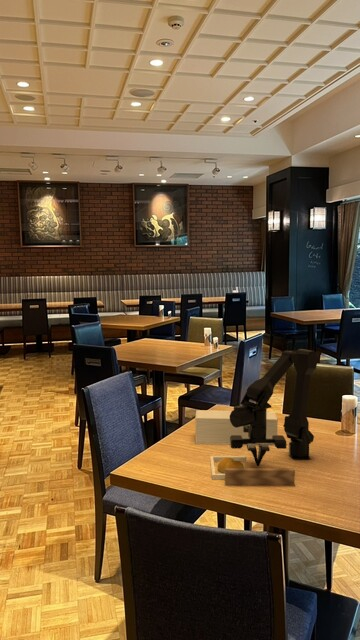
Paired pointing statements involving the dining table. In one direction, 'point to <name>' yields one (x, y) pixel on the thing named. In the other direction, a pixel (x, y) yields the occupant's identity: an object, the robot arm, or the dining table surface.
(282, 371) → the robot arm
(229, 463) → the bread roll
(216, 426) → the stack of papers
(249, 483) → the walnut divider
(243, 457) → the serving bay
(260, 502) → the dining table surface
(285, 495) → the dining table surface
